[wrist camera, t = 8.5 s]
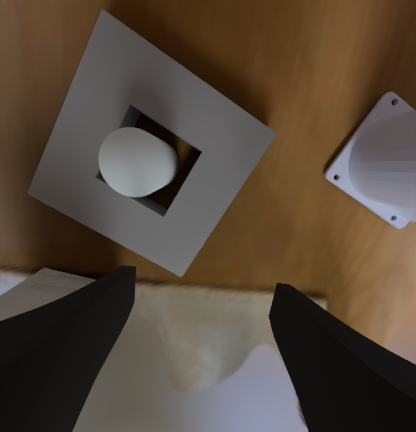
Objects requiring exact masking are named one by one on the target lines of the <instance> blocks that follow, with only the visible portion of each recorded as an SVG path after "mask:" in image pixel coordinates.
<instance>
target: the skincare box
mask: <svg viewBox="0 0 416 432" xmlns="http://www.w3.org/2000/svg"><path fill="white" fill-rule="evenodd" d="M94 281H96V280H94V279H90V278H86V277H82V276H78V275H73V274H69V273H65V272H60V271H56V270H52V269H48V268H43V269H41V270H40V271H38V272H37V273H35V274H33V275H32V276H30V277H29V278H27V279H26V280H24V281H23V282H21V283H20V284H18V285H16V286H15V287H13V288H12V289H10V290H9V291H7V292H6V293H4V294H3V295H1V296H0V321H1V320H4V319H7V318H10V317H13V316H16V315H19V314H21V313H24V312H27V311H30V310H33V309H35V308H38V307H40V306H43V305H45V304H48V303H50V302H52V301H55V300H57V299H59V298H61V297H64V296H66V295H68V294H70V293H72V292H74V291H76V290H78V289H80V288H82V287H84V286H86V285H88V284H90V283H92V282H94Z"/></svg>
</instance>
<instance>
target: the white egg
mask: <svg viewBox="0 0 416 432" xmlns="http://www.w3.org/2000/svg"><path fill="white" fill-rule="evenodd" d="M98 160H99V167H100V171H101V174H102V176H103V178H104V179H105V181H106V182H107V183H108V185H109V186H110V187H111V188H113V189H114V190H115V191H117V192H118V193H120V194H122V195H125V196H129V197H142V196H146V195H149V194H151V193H152V192H154V191H156V190H158V189H160V188H162V187H164V186H166V185H168V184H169V183H171V182H172V181H173V180H174V179H175V178H176V176H177V174H178V171H179V158H178V155H177V153H176V151H175V150H174V149H173V148H172V147H171V146H170V145H169V144H168V143H166V142H164V141H162V140H160V139H159V138H157V137H155V136H153V135H151V134H150V133H148V132H146V131H144V130H141V129H139V128H134V127H125V128H120V129H118V130H115V131H114V132H112V133H111V134H109V135H108V136H107V137H106V138H105V140H104V141H103V143H102V145H101V147H100V150H99V158H98Z"/></svg>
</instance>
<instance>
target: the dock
mask: <svg viewBox="0 0 416 432" xmlns="http://www.w3.org/2000/svg"><path fill="white" fill-rule="evenodd" d="M141 113H142V114H143V115H145V116H146V117H148V118H150V119H151V120H153V121H154V122H156V123H157V124H159V125H160V126H162V127H163V128H165V129H166V130H168V131H169V132H171V133H172V134H174V135H176V136H177V137H179V138H180V139H182V140H183V141H185V142H186V143H188V144H189V145H191V146H192V147H194V148H195V149H197V150H198V151H200V152H202V153H201V155H200V156H199V158H198V160H197V162H196V163H195V165H194V167H193V168H192V170H191V172H190V173H189V175H188V177H187V178H186V180H185V182H184V184H183V185H182V187H181V189H180V190H179V192H178V194H177V195H176V197H175V199H174V200H173V202H172V204H171V206H170V207H169V209H166V208H164V207H163V206H161V205H159V204H158V203H156V202H154V201H153V200H151V199H149V198H148V197H146V196H142V197H129V196H125V195H122V194H120V193H118V192H117V191H115V190H114V189H113V188H111V187H110V186H109V185H108V183H107V182H106V181H105V179H104V178H103V176H102V174H101V171H100V167H99V160H98V158H99V150H100V147H101V145H102V143H103V141H104V140H105V138H106V137H107V136H108V135H109V134H111V133H112V132H114V131H115V130H118V129H120V128H125V127H135V125H136V123H137V121H138V119H139V117H140V115H141ZM276 134H277V133H275V132H274V131H273V130H271V129H270V128H268V127H267V126H266V125H264V124H263V123H261V122H260V121H259V120H257V119H256V118H254V117H253V116H252V115H250V114H249V113H247V112H246V111H245V110H243V109H242V108H240V107H239V106H238V105H236V104H235V103H233V102H232V101H231V100H229V99H228V98H226V97H225V96H224V95H222V94H221V93H219V92H218V91H217V90H215V89H214V88H213V87H211V86H210V85H208V84H207V83H206V82H204V81H203V80H201V79H200V78H199V77H197V76H196V75H194V74H193V73H192V72H190V71H189V70H187V69H186V68H185V67H183V66H182V65H180V64H179V63H178V62H176V61H175V60H173V59H172V58H171V57H169V56H168V55H166V54H165V53H164V52H162V51H161V50H159V49H158V48H157V47H155V46H154V45H152V44H151V43H150V42H148V41H147V40H145V39H144V38H143V37H141V36H140V35H138V34H137V33H136V32H134V31H133V30H131V29H130V28H129V27H127V26H126V25H124V24H123V23H122V22H120V21H119V20H117V19H116V18H115V17H113V16H112V15H110V14H109V13H108V12H106V11H105V10H103V9H102V10H101V12H100V15H99V17H98V20H97V22H96V24H95V27H94V29H93V32H92V34H91V37H90V39H89V42H88V44H87V47H86V49H85V52H84V54H83V57H82V59H81V61H80V64H79V66H78V69H77V71H76V74H75V76H74V79H73V81H72V84H71V86H70V89H69V91H68V94H67V96H66V98H65V101H64V103H63V106H62V108H61V111H60V113H59V116H58V118H57V121H56V123H55V126H54V128H53V131H52V133H51V135H50V138H49V140H48V143H47V145H46V148H45V150H44V153H43V155H42V158H41V160H40V163H39V165H38V168H37V170H36V172H35V175H34V177H33V180H32V182H31V185H30V187H29V190H28V192H27V194H28V195H30V196H32V197H34V198H36V199H37V200H39V201H41V202H43V203H45V204H47V205H49V206H50V207H52V208H54V209H56V210H58V211H60V212H61V213H63V214H65V215H67V216H69V217H71V218H73V219H74V220H76V221H78V222H80V223H82V224H84V225H86V226H87V227H89V228H91V229H93V230H95V231H97V232H98V233H100V234H102V235H104V236H106V237H108V238H110V239H111V240H113V241H115V242H117V243H119V244H121V245H123V246H124V247H126V248H128V249H130V250H132V251H134V252H135V253H137V254H139V255H141V256H143V257H145V258H147V259H148V260H150V261H152V262H154V263H156V264H158V265H160V266H161V267H163V268H165V269H167V270H169V271H171V272H172V273H174V274H176V275H178V276H180V277H182V276H183V274H184V273H185V271H186V270H187V268H188V267H189V265H190V264H191V262H192V261H193V259H194V258H195V256H196V255H197V253H198V252H199V250H200V249H201V247H202V246H203V244H204V243H205V241H206V240H207V238H208V237H209V235H210V234H211V232H212V231H213V229H214V228H215V226H216V225H217V223H218V222H219V220H220V219H221V217H222V216H223V214H224V213H225V211H226V210H227V208H228V207H229V205H230V204H231V202H232V201H233V199H234V198H235V196H236V195H237V193H238V192H239V190H240V189H241V187H242V186H243V184H244V183H245V181H246V180H247V178H248V177H249V175H250V174H251V172H252V171H253V169H254V168H255V166H256V164H257V163H258V161H259V160H260V158H261V157H262V155H263V154H264V152H265V151H266V149H267V148H268V146H269V145H270V143H271V142H272V140H273V139H274V137H275V136H276Z"/></svg>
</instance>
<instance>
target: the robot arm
mask: <svg viewBox="0 0 416 432" xmlns="http://www.w3.org/2000/svg"><path fill="white" fill-rule="evenodd" d="M392 100H393V102H394V104H393V105H392ZM335 175H337V178H336V179H335V180H334V176H335ZM324 176H325V178H326V179H327V180H329V181H330V182H331V183H333V184H334V185H336V186H337V187H339V188H340V189H341V190H343V191H344V192H346V193H347V194H348V195H350V196H351V197H353V198H354V199H356V200H357V201H358V202H360V203H361V204H363V205H364V206H365V207H367V208H368V209H370V210H371V211H373V212H374V213H375V214H377V215H378V216H380V217H381V218H382V219H384V220H385V221H387V222H388V223H390V224H391V225H392V226H394V227H396V228H399V229H400V228H403V227H405V226H406V225H407V223H408V222H409V221H411V222H415V223H416V110H414V109H413V108H412V107H411V106H410V105H408V104H407V103H406V102H405V101H404V100H402V99H401V98H400V97H399V96H398V95H396V94H395V93H394V92H388V93H386V94H384V95H383V96H382V97H381V98H380V100H379V101H378V102H377V104H376V105H375V106H374V108H373V109H372V110H371V112H370V113H369V114H368V115H367V117H366V118H365V119H364V121H363V122H362V123H361V125H360V126H359V127H358V129H357V130H356V131H355V133H354V134H353V135H352V137H351V138H350V139H349V141H348V142H347V143H346V145H345V146H344V147H343V149H342V150H341V151H340V153H339V154H338V155H337V157H336V158H335V159H334V161H333V162H332V163H331V165H330V166H329V167H328V169H327V170H326V171H325V174H324ZM392 216H393V218H392V219H391V217H392ZM135 279H136V267H133V266H125V265H124V266H121V267H119V268H117V269H116V270H114V271H112V272H110V273H108V274H107V275H105V276H103V277H101V278H99V279H97V280H96V281H94V282H92V283H90V284H88V285H86V286H84V287H82V288H80V289H78V290H76V291H74V292H72V293H70V294H68V295H66V296H64V297H61V298H59V299H57V300H55V301H52V302H50V303H48V304H45V305H43V306H40V307H38V308H35V309H33V310H30V311H27V312H24V313H21V314H19V315H16V316H13V317H10V318H7V319H4V320H1V321H0V432H72V431H73V429H74V426H75V424H76V422H77V419H78V417H79V415H80V412H81V410H82V408H83V406H84V403H85V401H86V399H87V397H88V394H89V392H90V390H91V387H92V385H93V383H94V381H95V379H96V377H97V375H98V373H99V371H100V369H101V367H102V366H103V364H104V362H105V360H106V358H107V357H108V355H109V353H110V351H111V349H112V347H113V346H114V344H115V342H116V340H117V338H118V337H119V335H120V333H121V331H122V329H123V327H124V325H125V324H126V322H127V319H128V317H129V314H130V312H131V309H132V307H133V304H134V300H135ZM269 319H270V324H271V328H272V331H273V335H274V338H275V341H276V343H277V346H278V348H279V351H280V353H281V356H282V358H283V361H284V363H285V366H286V368H287V371H288V373H289V376H290V378H291V381H292V383H293V386H294V388H295V391H296V394H297V397H298V399H299V402H300V406H301V409H302V412H303V415H304V418H305V422H306V425H307V428H308V432H416V365H415V364H413V363H411V362H410V361H408V360H406V359H404V358H402V357H400V356H398V355H396V354H394V353H393V352H391V351H389V350H387V349H385V348H384V347H382V346H380V345H378V344H377V343H375V342H373V341H372V340H370V339H368V338H367V337H365V336H363V335H362V334H360V333H358V332H357V331H355V330H354V329H352V328H351V327H349V326H348V325H346V324H345V323H343V322H342V321H340V320H339V319H337V318H336V317H334V316H333V315H331V314H330V313H329V312H327V311H326V310H324V309H323V308H322V307H320V306H319V305H318V304H316V303H315V302H313V301H312V300H311V299H309V298H308V297H307V296H305V295H304V294H303V293H301V292H300V291H298V290H297V289H295V288H294V287H292V286H291V285H289V284H282V283H277V285H276V289H275V293H274V297H273V301H272V305H271V309H270V313H269Z"/></svg>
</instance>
